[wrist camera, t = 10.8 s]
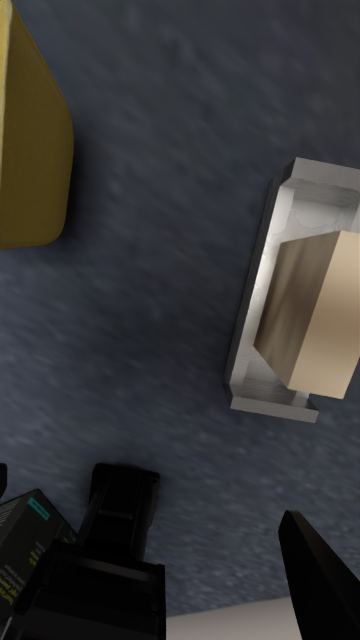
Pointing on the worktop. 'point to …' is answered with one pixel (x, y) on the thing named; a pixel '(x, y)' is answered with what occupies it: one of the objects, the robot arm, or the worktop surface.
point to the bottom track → (276, 226)
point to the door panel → (313, 314)
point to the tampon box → (26, 541)
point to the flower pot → (30, 140)
